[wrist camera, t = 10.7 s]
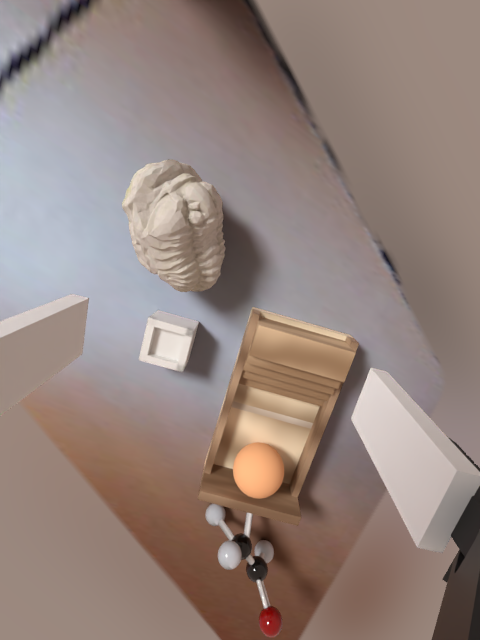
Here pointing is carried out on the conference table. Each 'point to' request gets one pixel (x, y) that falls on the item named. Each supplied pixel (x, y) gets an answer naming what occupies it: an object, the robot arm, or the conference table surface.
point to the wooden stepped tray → (276, 408)
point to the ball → (258, 470)
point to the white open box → (168, 340)
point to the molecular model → (256, 565)
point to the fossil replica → (176, 225)
